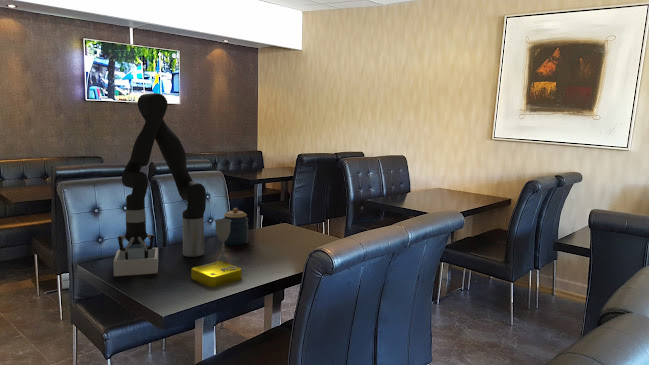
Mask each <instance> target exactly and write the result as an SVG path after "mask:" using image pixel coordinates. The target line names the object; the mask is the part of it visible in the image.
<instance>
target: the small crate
mask: <svg viewBox="0 0 649 365" xmlns="http://www.w3.org/2000/svg"><path fill="white" fill-rule="evenodd" d="M144 251H145V250H144V247H142V245H141V244H139V245H138V244H135V245H132V244H131V246H130V247H128V260H133V259H145V256H144Z"/></svg>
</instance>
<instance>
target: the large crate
mask: <svg viewBox="0 0 649 365" xmlns="http://www.w3.org/2000/svg"><path fill="white" fill-rule="evenodd" d="M112 263H113V277H123V276H124V277H125V276H135V275H136V276H137V275H139V276H140V275H149V274H150V275H151V274H158V271H159V270H158V269H159V247H152V249H150V250H148V258H146V259H133V260H126V259H125V252H124V251H120V249H117V250H116V254H115V257H114V260H113V262H112Z"/></svg>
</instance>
